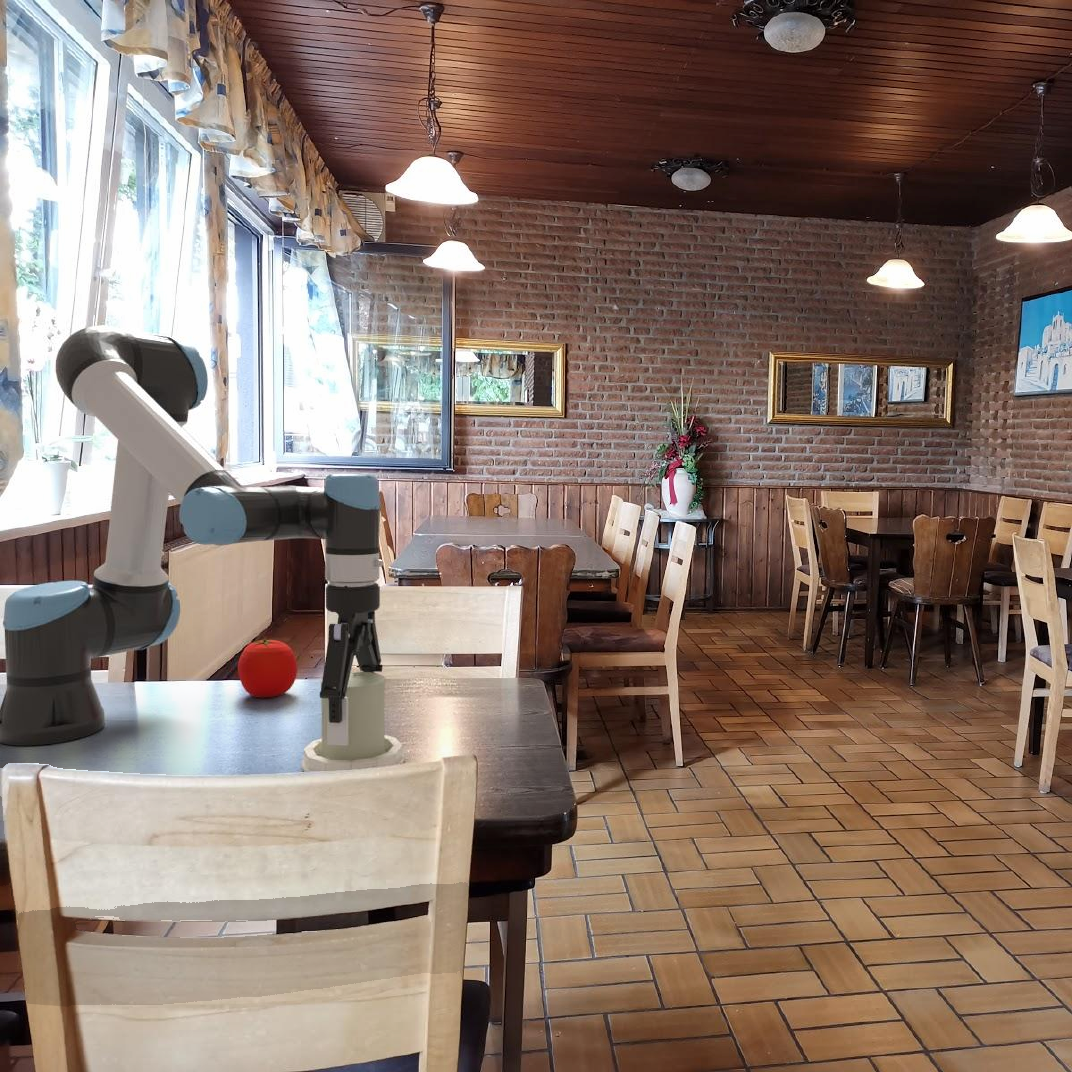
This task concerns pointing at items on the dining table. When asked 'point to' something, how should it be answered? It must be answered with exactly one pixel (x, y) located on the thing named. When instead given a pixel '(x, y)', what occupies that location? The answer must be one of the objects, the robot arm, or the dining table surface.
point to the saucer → (318, 763)
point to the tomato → (267, 668)
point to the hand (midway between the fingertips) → (353, 729)
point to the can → (360, 719)
